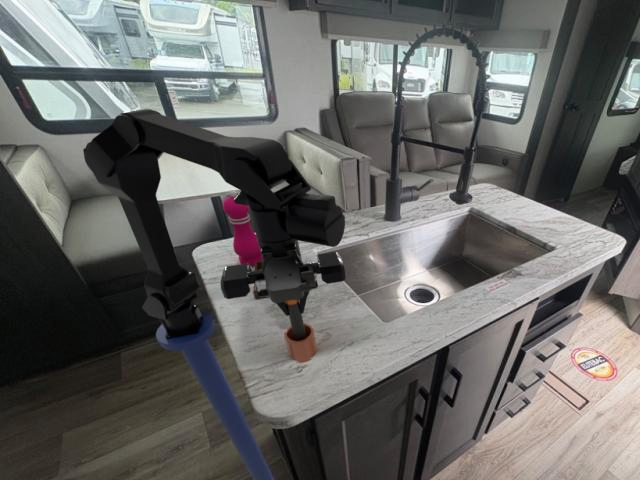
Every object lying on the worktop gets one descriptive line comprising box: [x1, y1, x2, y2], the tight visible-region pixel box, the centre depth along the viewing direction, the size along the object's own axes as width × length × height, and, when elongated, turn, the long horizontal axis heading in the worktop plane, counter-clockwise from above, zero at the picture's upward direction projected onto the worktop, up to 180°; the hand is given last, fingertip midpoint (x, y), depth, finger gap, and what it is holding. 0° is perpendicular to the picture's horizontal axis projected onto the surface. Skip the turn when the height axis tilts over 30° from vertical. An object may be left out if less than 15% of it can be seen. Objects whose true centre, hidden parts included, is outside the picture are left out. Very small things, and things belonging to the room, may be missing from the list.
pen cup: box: [283, 322, 318, 364], centre depth 62 cm, size 5×5×6 cm
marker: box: [285, 300, 307, 341], centre depth 58 cm, size 2×2×11 cm
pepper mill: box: [222, 190, 263, 267], centre depth 85 cm, size 7×7×20 cm
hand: (294, 313), depth 58 cm, fingers closed on marker, 2 cm apart
